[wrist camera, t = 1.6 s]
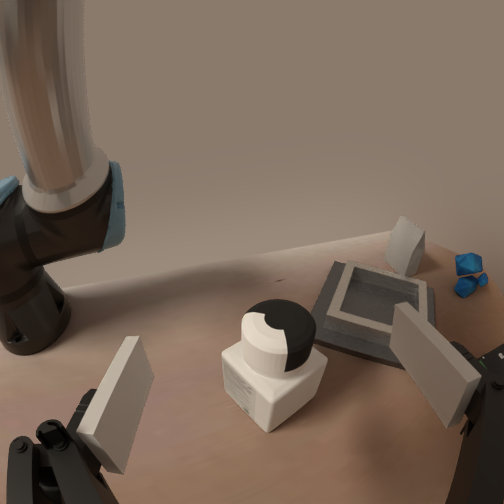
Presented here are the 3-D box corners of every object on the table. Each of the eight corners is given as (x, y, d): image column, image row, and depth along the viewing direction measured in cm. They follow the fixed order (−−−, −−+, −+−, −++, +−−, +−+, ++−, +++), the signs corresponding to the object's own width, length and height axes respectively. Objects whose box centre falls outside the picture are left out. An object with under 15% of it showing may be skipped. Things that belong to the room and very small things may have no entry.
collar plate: (299, 338, 39) (303, 320, 37) (333, 265, 54) (337, 249, 53) (431, 376, 32) (442, 360, 30) (431, 292, 47) (437, 277, 45)
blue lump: (501, 266, 42) (483, 265, 38) (481, 301, 46) (459, 307, 42) (477, 247, 48) (454, 243, 44) (459, 281, 52) (434, 283, 48)
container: (272, 358, 36) (280, 279, 29) (316, 396, 31) (342, 321, 24) (223, 390, 32) (216, 313, 25) (267, 435, 27) (278, 370, 20)
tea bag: (403, 278, 51) (418, 232, 46) (383, 259, 57) (394, 215, 51) (415, 274, 52) (430, 230, 47) (395, 256, 57) (407, 214, 52)
